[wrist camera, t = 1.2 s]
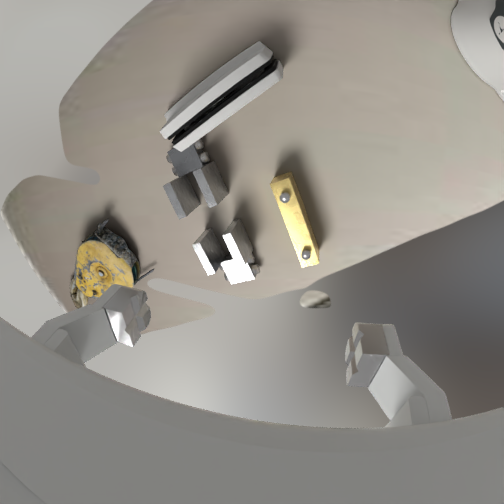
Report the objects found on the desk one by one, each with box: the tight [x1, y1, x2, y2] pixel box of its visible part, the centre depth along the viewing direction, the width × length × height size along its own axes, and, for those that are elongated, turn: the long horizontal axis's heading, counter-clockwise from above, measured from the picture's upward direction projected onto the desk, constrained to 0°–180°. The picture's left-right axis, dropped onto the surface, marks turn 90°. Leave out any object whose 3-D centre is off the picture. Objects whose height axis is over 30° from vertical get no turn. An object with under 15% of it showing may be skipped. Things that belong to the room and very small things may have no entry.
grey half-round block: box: [160, 41, 283, 152], centre depth 27 cm, size 17×5×10 cm, turn 125°
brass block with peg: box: [270, 172, 319, 268], centre depth 35 cm, size 2×12×5 cm, turn 23°
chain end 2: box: [192, 219, 260, 284], centre depth 39 cm, size 6×9×5 cm, turn 23°
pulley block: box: [70, 219, 154, 308], centre depth 49 cm, size 14×6×30 cm
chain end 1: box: [163, 139, 229, 219], centre depth 35 cm, size 6×9×5 cm, turn 23°
